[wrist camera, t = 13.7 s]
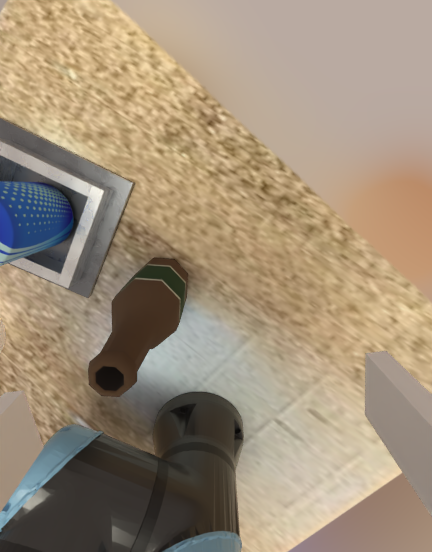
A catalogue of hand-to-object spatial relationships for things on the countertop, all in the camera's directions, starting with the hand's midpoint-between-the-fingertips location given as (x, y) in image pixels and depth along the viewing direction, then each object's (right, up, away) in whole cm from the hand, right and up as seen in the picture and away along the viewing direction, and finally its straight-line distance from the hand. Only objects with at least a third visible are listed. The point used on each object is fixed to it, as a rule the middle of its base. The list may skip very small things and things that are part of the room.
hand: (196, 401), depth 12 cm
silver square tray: (-22, +13, +31) cm, 40 cm away
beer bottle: (-7, +4, +34) cm, 35 cm away
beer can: (-22, +13, +30) cm, 40 cm away
